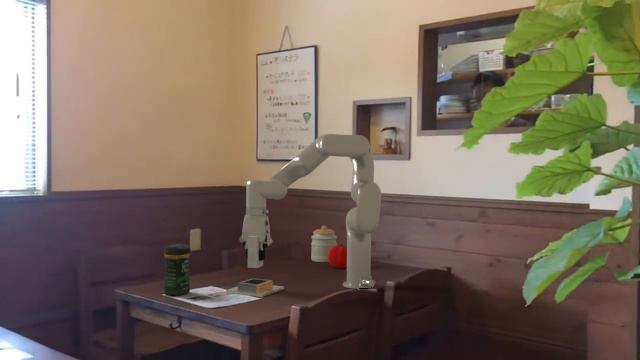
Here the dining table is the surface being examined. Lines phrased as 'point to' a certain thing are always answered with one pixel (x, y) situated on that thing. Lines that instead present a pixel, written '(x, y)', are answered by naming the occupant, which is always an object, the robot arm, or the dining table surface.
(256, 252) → the skincare box
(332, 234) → the jar
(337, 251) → the tomato
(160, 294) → the dining table surface
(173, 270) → the coffee jar
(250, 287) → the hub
